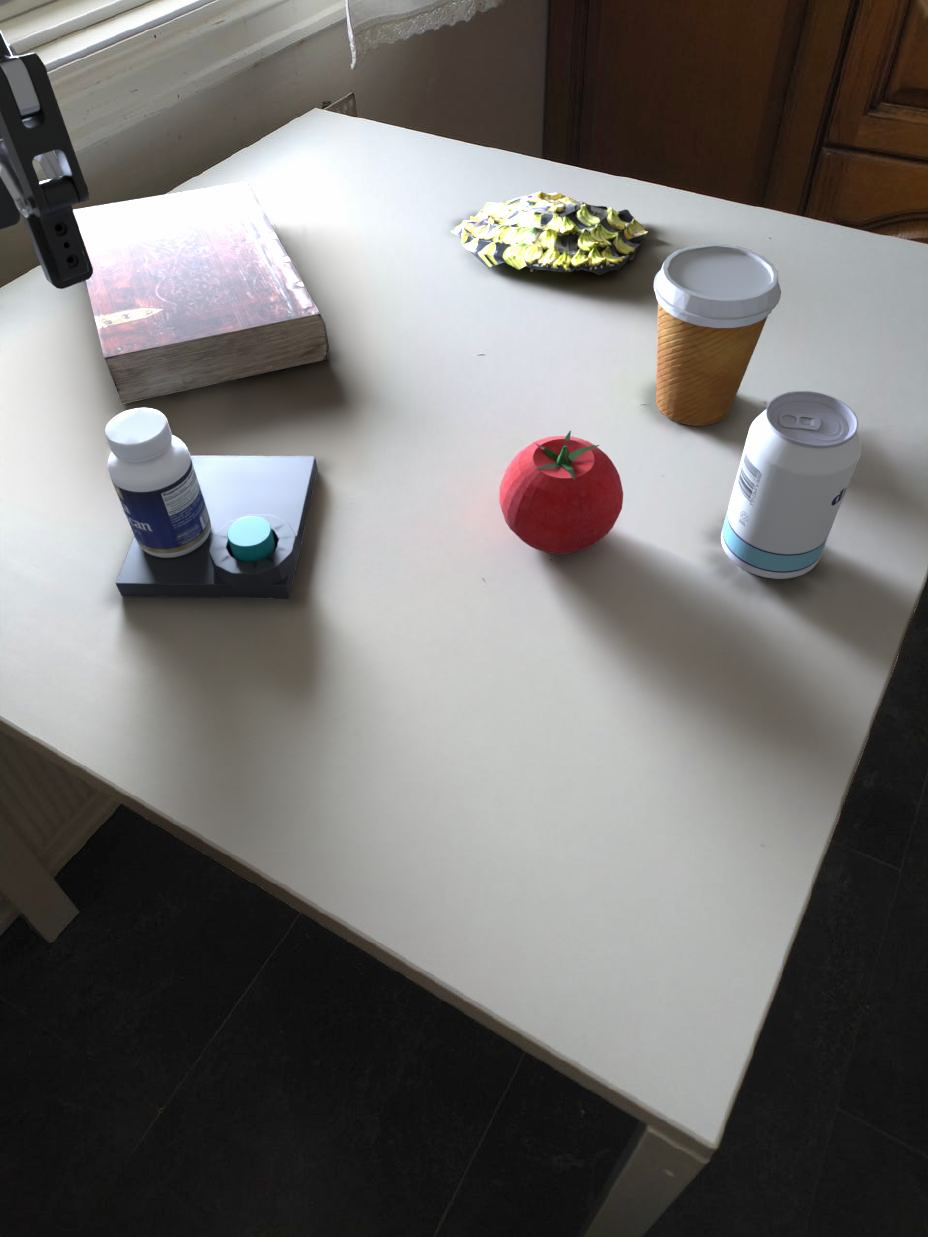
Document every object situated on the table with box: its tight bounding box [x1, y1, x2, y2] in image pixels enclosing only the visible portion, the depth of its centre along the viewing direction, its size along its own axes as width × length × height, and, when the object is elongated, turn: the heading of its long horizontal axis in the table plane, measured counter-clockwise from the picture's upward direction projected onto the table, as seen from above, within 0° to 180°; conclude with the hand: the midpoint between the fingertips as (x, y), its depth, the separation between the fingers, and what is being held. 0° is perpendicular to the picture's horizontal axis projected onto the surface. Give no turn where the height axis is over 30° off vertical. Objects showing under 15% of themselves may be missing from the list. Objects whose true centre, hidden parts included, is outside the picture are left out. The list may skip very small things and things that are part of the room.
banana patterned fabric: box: [450, 191, 649, 276], centre depth 94 cm, size 20×16×7 cm
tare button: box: [227, 517, 275, 562], centre depth 62 cm, size 3×3×2 cm
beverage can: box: [720, 390, 862, 580], centre depth 61 cm, size 7×7×12 cm
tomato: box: [498, 430, 624, 555], centre depth 64 cm, size 9×9×8 cm
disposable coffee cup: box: [653, 243, 782, 427], centre depth 72 cm, size 10×10×12 cm
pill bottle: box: [104, 407, 211, 558], centre depth 62 cm, size 5×5×10 cm
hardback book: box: [73, 180, 330, 405], centre depth 87 cm, size 29×19×5 cm, turn 22°
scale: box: [115, 454, 319, 600], centre depth 67 cm, size 14×12×3 cm
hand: (35, 252), depth 48 cm, fingers open, 8 cm apart
